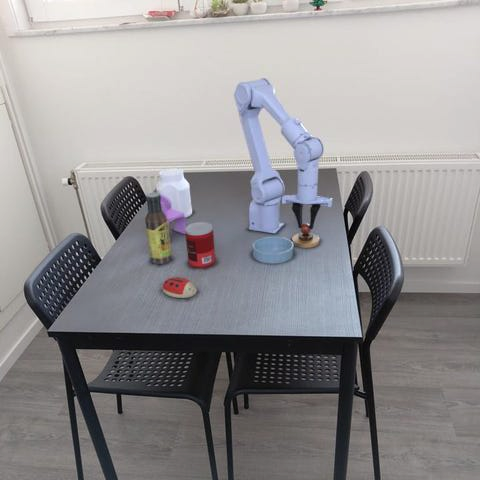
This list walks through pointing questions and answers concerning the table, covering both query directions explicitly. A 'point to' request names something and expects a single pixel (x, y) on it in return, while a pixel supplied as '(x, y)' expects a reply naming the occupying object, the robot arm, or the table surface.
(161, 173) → the jar
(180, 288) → the ladybug figurine
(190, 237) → the canned food
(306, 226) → the ball
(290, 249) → the light blue bowl
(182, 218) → the toy chair
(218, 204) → the table surface
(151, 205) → the sauce bottle
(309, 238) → the holder
